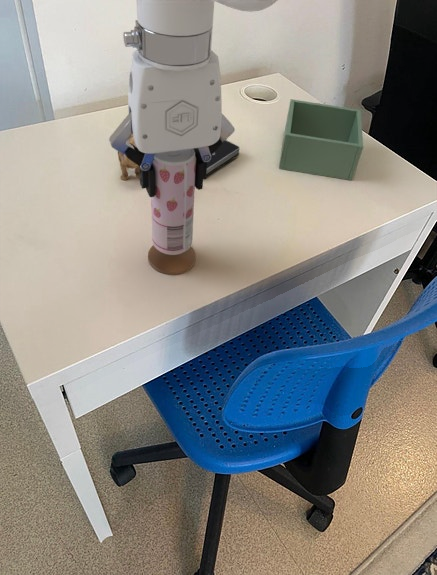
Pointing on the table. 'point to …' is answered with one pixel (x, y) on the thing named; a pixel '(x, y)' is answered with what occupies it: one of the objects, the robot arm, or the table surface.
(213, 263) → the table surface
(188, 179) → the beverage can
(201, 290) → the table surface
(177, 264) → the coaster
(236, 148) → the external hard drive
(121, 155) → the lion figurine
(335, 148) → the crate
